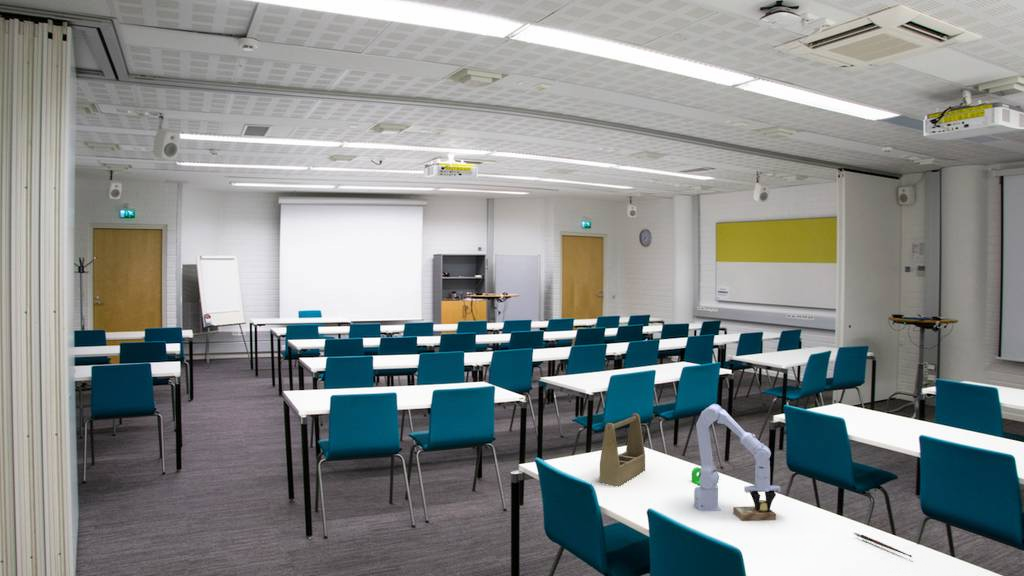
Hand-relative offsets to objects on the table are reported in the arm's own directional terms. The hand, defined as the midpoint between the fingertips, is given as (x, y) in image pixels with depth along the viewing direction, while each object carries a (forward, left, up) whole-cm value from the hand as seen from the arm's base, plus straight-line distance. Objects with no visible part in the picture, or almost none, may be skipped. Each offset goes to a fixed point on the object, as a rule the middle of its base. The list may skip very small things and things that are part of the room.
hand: (762, 509), depth 274 cm
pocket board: (-4, 0, -3) cm, 5 cm away
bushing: (0, 0, -3) cm, 3 cm away
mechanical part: (-8, +43, -3) cm, 44 cm away
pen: (+31, -23, -2) cm, 39 cm away
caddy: (-45, +55, -3) cm, 71 cm away
